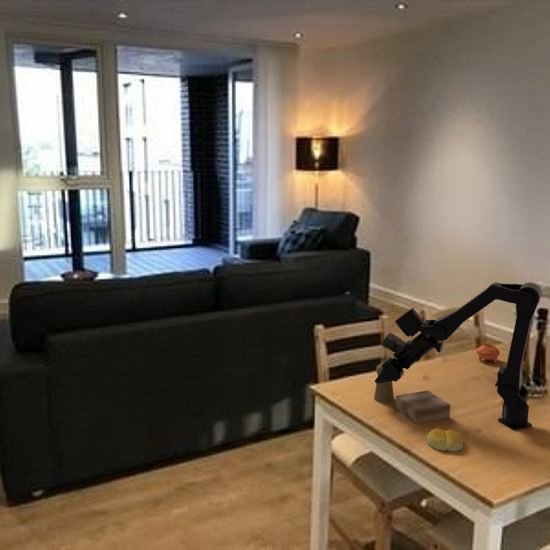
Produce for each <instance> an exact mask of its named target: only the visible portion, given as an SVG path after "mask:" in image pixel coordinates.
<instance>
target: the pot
mask: <svg viewBox="0 0 550 550" xmlns="http://www.w3.org/2000/svg"><path fill="white" fill-rule="evenodd" d="M476 353H477V355H478V359H479V362H482V360H487V361H489V360H493V362H494V363H497V361H498V357H499V355H500V354H501V352H500V350H499V349H498V347H496V345H495V346H494V343H483V344H482V345H479V347H478V348H477V349H476Z"/></svg>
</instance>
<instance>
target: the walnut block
mask: <svg viewBox="0 0 550 550" xmlns="http://www.w3.org/2000/svg"><path fill="white" fill-rule="evenodd" d="M395 410H397V411H398V412H400V413H401V415H404V416H405V417H406V418H407V419H409V420H410V421H412V422H413V423H414V424H415V425H419V424H423V423H424V424H425V423H429V422H434V421H435V422H436V421H440V420H445V419H449V418H451V404H450V403H449V402H447V401H445V400H444V399H442V398H441V397H439V396H437V395H436V394H435V393H433V392H431V391H429V390H423V391H416V392H411V393H404V394H400V395H398V394H397V395H395Z"/></svg>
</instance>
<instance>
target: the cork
mask: <svg viewBox="0 0 550 550" xmlns="http://www.w3.org/2000/svg"><path fill="white" fill-rule="evenodd" d="M382 364H383V363H380V364H378V365H377V366H376V368H375V371H376V374H377V377H378V376H379V375H380V373H381V372H382V371H383V368H382ZM375 384H376V383H375ZM393 387H394V386H393V381H390V382H384V383H378V384H376V385H375V389H374V390H375V391H374V396H373V399H374V400H375V401H376V402H379V403H383V404H384V403H385V404H389V403H392V402H393V401H394V400H395V396H394V395H395V393H394V388H393Z"/></svg>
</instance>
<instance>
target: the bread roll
mask: <svg viewBox="0 0 550 550" xmlns="http://www.w3.org/2000/svg"><path fill="white" fill-rule="evenodd" d="M426 441H427V444H428V445H429V446H430V447H431V448H433V449H434V450H437V451H441V452H443V451H444V452H446V451H448V452H458V451H461V450H463V447H464V443H463V436H462V434H461V433H460V432H459V431H457V430H456V429H446V430H444V429H441V428H439V427H438V428H434V429H432V430H430V431H429V432H428V434H427V437H426Z"/></svg>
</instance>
